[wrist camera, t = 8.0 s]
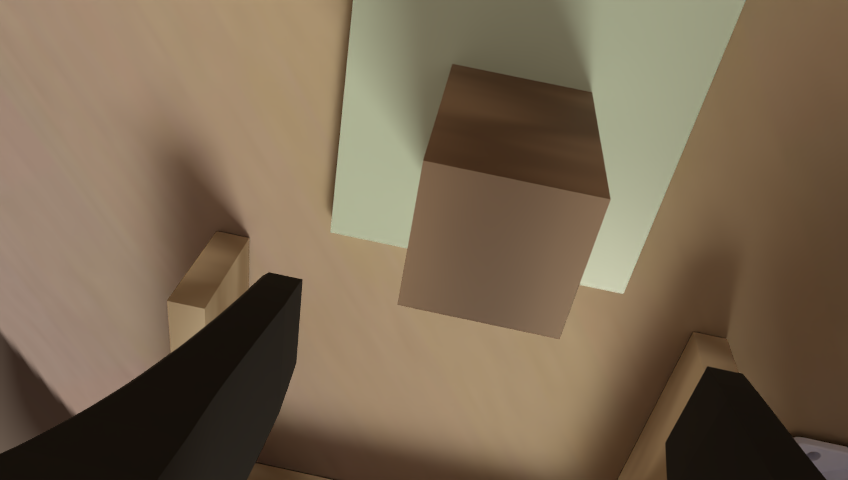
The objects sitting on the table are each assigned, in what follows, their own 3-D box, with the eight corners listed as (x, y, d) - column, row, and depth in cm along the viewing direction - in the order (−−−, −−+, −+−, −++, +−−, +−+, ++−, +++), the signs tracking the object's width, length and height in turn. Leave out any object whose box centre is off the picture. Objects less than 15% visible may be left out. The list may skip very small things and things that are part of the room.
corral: (727, 339, 24) (756, 427, 21) (606, 556, 32) (614, 645, 29) (216, 231, 25) (166, 300, 21) (220, 471, 32) (184, 549, 29)
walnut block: (592, 92, 19) (610, 199, 14) (554, 211, 22) (559, 339, 17) (452, 63, 19) (423, 160, 15) (429, 184, 22) (397, 304, 17)
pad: (744, -17, 18) (750, -11, 17) (621, 283, 23) (623, 294, 23) (366, -92, 18) (361, -89, 18) (334, 222, 24) (330, 232, 23)
